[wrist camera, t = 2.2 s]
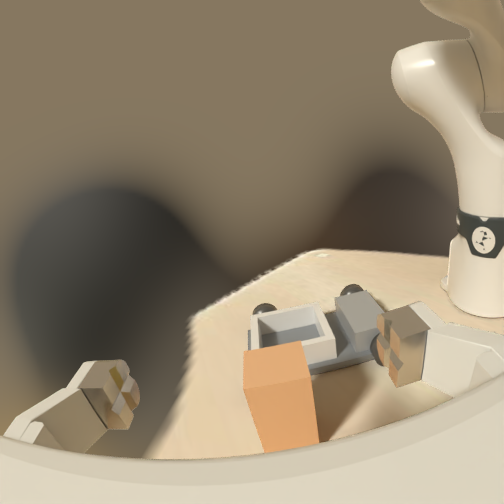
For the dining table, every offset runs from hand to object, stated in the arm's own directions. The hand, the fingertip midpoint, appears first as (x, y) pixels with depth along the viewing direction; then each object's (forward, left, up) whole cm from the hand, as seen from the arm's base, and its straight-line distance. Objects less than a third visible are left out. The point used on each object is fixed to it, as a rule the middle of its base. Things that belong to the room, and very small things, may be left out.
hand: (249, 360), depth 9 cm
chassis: (-19, -20, -20) cm, 34 cm away
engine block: (-6, -10, -20) cm, 23 cm away
